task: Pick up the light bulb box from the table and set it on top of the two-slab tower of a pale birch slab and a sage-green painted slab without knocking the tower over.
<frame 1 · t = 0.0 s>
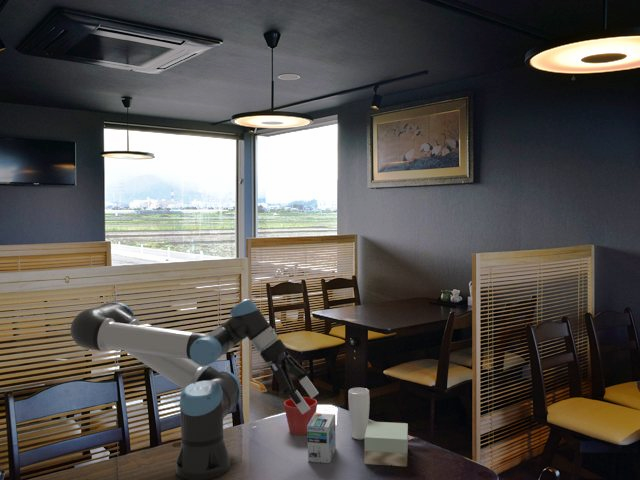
hand: (311, 403, 163), 15 cm above the table, tool tilted 35°, fingers open, 13 cm apart
flower pot: (301, 431, 182), on the table
sage slab: (386, 443, 162), point 4 cm above the table, touching birch slab
drinking glass: (359, 437, 176), on the table
light bulb box: (322, 455, 163), on the table
birch slab: (386, 456, 162), on the table, touching sage slab
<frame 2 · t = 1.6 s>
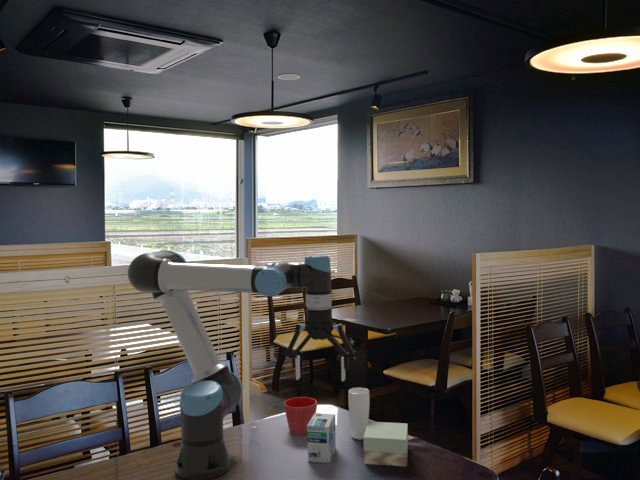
hand: (320, 379, 162), 23 cm above the table, tool pointing down, fingers open, 13 cm apart
nothing on the table moved.
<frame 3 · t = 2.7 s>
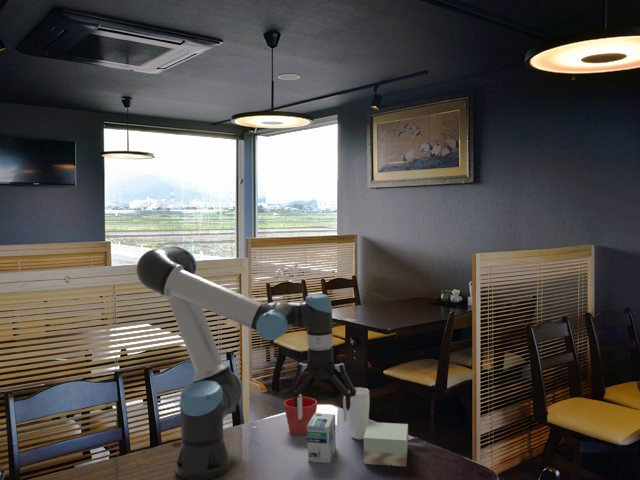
hand: (322, 418, 162), 11 cm above the table, tool pointing down, fingers open, 13 cm apart
nothing on the table moved.
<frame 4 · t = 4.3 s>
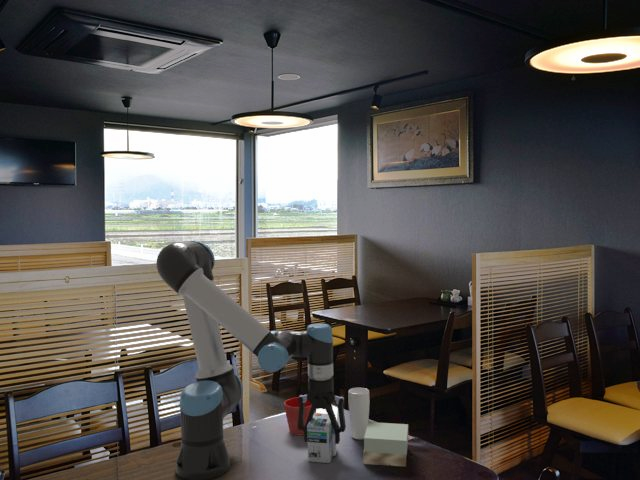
hand: (322, 453, 163), 1 cm above the table, tool pointing down, fingers closed on light bulb box, 7 cm apart
sage slab: (386, 444, 161), point 3 cm above the table
light bulb box: (322, 455, 163), on the table, touching gripper
birch slab: (385, 457, 162), on the table
everything else where it was.
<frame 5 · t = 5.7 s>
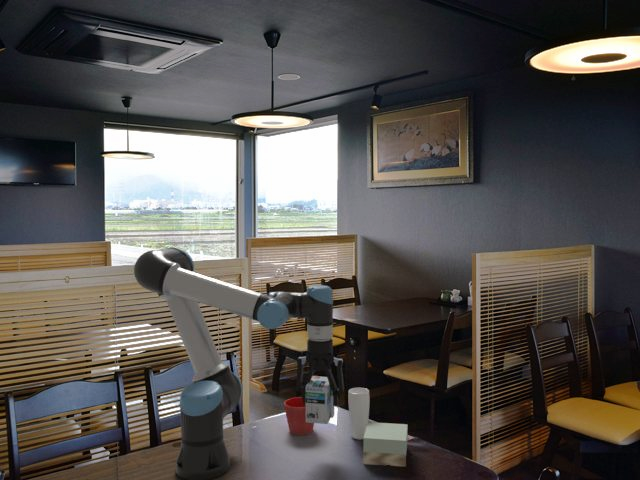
hand: (320, 415, 163), 12 cm above the table, tool pointing down, fingers closed on light bulb box, 7 cm apart
sage slab: (386, 444, 161), point 4 cm above the table, touching birch slab
light bulb box: (319, 417, 163), point 11 cm above the table, touching gripper
birch slab: (385, 457, 162), on the table, touching sage slab
everything else where it was.
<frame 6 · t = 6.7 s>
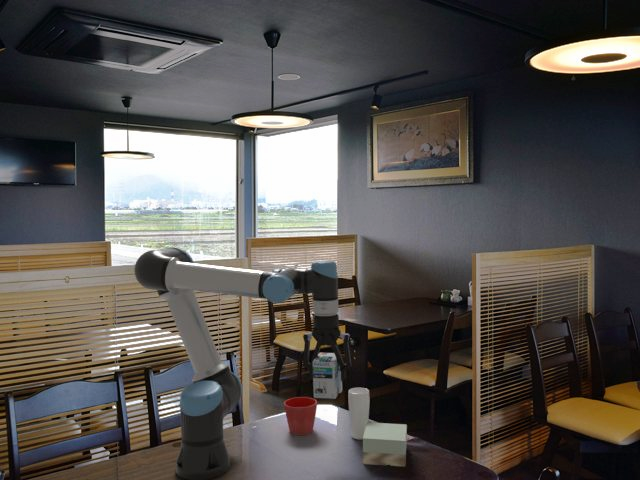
hand: (327, 390, 162), 19 cm above the table, tool pointing down, fingers closed on light bulb box, 7 cm apart
light bulb box: (327, 393, 162), point 19 cm above the table, touching gripper
everything else where it was.
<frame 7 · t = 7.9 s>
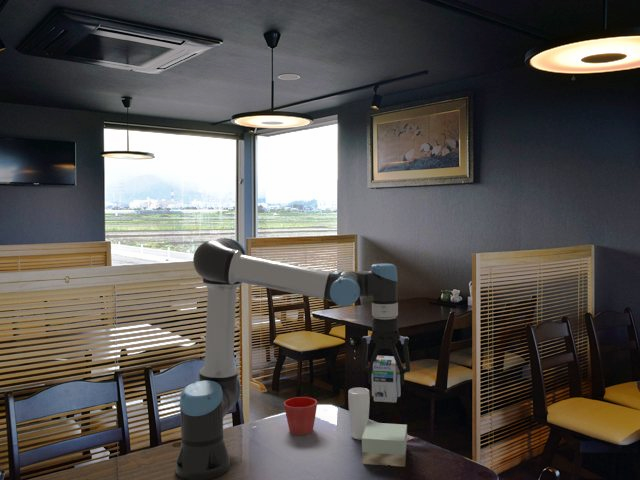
hand: (386, 394, 161), 18 cm above the table, tool pointing down, fingers closed on light bulb box, 7 cm apart
light bulb box: (386, 397, 161), point 18 cm above the table, touching gripper
everything else where it was.
when the fingers open (10 cm above the table, at t = 9.3 s): light bulb box drops 2 cm, resting on sage slab.
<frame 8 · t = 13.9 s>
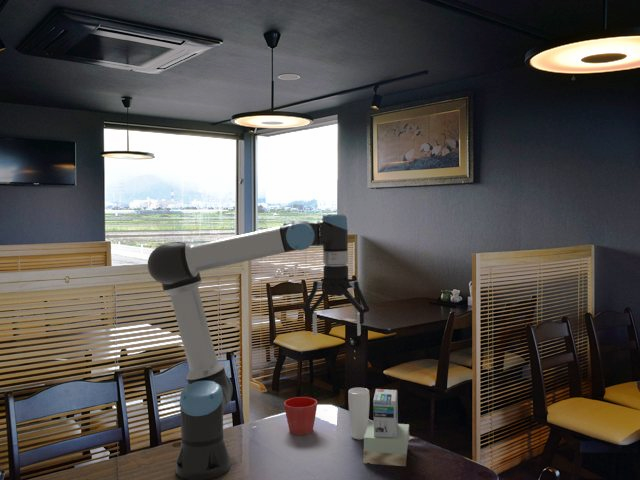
hand: (336, 334, 168), 35 cm above the table, tool pointing down, fingers open, 13 cm apart
sage slab: (387, 444, 162), point 3 cm above the table, touching birch slab, light bulb box
light bulb box: (386, 431, 162), point 7 cm above the table, touching sage slab
everything else where it was.
at the end: light bulb box 0.2 cm off-centre on the sage slab, point 3.8 cm above the sage slab's base; sage slab 0.4 cm off-centre on the birch slab, point 4.0 cm above the birch slab's base; light bulb box tilted 0° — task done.
